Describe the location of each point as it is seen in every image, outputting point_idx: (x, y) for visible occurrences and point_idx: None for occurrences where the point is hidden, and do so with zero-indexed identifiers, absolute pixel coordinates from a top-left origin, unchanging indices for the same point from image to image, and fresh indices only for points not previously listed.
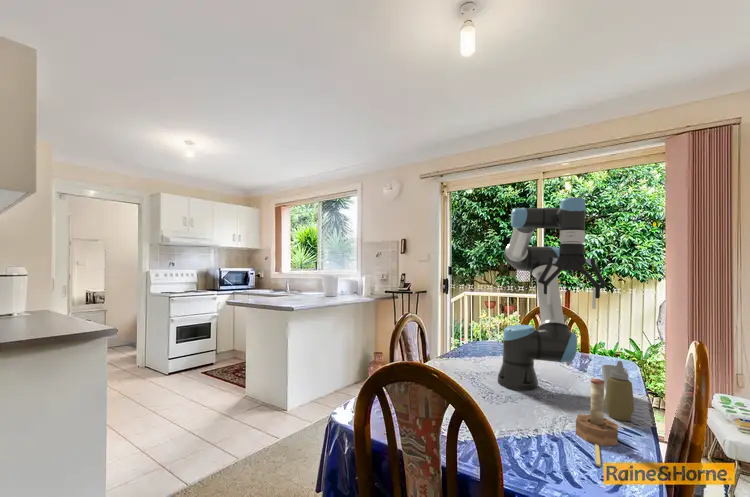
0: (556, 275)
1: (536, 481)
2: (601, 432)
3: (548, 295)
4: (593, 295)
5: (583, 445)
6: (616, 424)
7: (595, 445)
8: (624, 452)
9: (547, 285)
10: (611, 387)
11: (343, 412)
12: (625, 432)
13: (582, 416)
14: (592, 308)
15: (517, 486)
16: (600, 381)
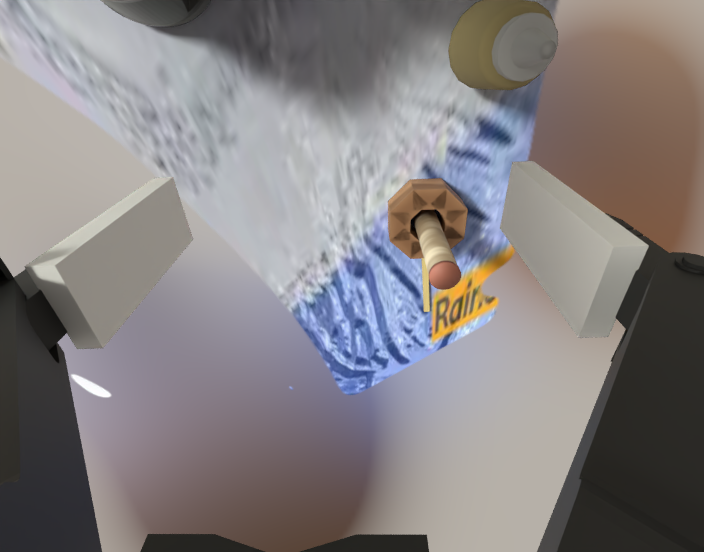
0: (68, 453)
1: (364, 376)
2: None
3: (152, 279)
4: (551, 287)
5: (404, 263)
6: (465, 209)
7: (422, 259)
8: (466, 245)
9: (70, 336)
10: (480, 82)
11: (81, 380)
12: (480, 148)
13: (399, 213)
14: (500, 228)
15: (350, 392)
16: (451, 280)
